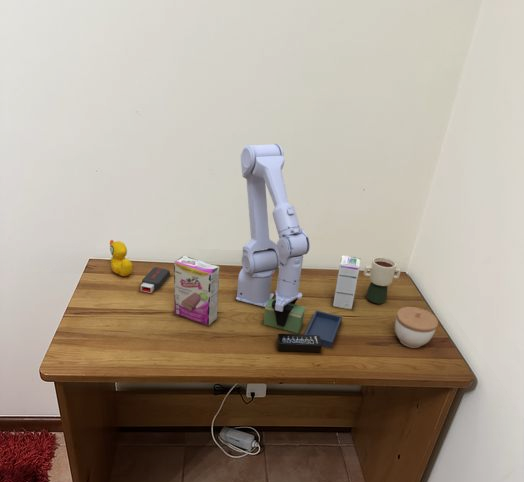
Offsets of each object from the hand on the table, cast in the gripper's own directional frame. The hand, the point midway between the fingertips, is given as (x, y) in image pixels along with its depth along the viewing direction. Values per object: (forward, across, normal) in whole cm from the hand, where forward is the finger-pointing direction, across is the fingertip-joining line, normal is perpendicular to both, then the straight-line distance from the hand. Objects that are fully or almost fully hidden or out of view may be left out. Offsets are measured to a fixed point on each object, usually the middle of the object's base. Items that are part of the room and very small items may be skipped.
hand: (283, 320), depth 134 cm
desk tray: (+1, +2, -11) cm, 11 cm away
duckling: (+2, +5, +54) cm, 54 cm away
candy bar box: (+2, -7, +23) cm, 24 cm away
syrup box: (+2, +19, -13) cm, 23 cm away
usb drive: (+2, +4, +42) cm, 42 cm away
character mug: (+2, +26, -22) cm, 34 cm away
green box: (+1, 0, 0) cm, 1 cm away
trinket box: (+2, +8, -34) cm, 35 cm away
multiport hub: (+1, -8, -7) cm, 11 cm away
